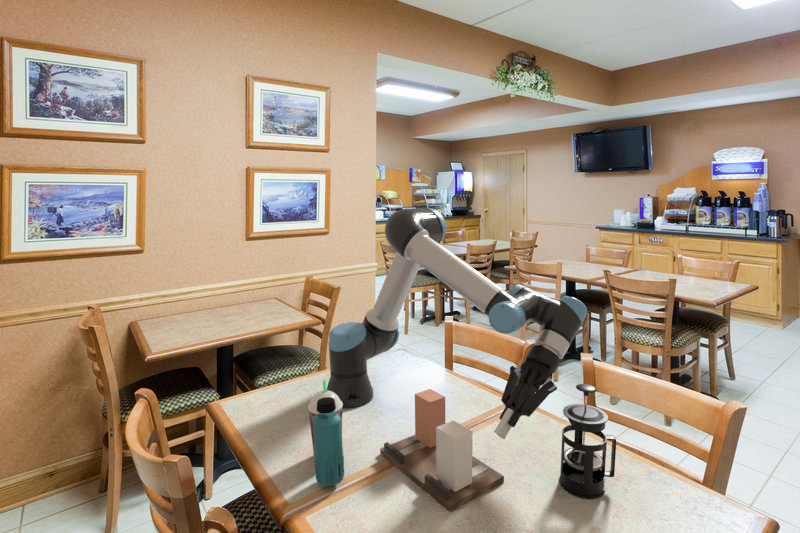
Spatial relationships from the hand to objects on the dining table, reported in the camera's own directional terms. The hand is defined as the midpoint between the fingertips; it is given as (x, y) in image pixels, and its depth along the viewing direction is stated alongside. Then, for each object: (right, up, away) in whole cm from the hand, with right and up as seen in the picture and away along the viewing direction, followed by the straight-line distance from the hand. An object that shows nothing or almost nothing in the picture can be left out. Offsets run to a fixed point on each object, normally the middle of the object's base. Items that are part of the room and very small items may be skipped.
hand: (499, 435), depth 104 cm
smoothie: (-41, -8, +7) cm, 42 cm away
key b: (-15, -5, +10) cm, 19 cm away
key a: (-11, -7, -7) cm, 15 cm away
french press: (+17, -9, -6) cm, 20 cm away
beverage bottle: (-39, -10, -4) cm, 40 cm away
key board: (-14, -8, +2) cm, 16 cm away
